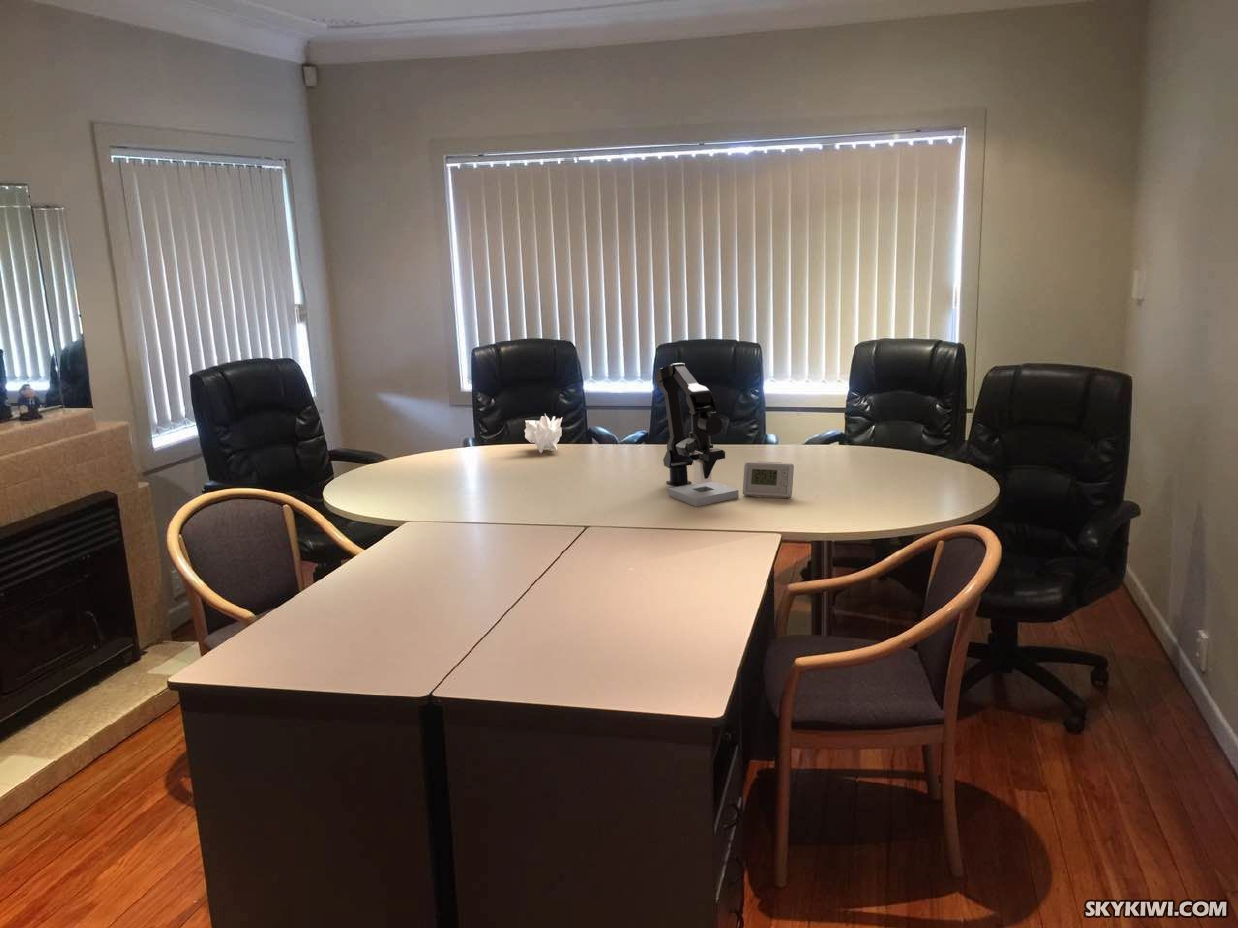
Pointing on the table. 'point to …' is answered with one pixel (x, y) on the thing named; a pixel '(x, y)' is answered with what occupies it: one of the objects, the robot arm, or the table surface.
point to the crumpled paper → (544, 433)
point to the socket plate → (703, 493)
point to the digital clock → (768, 479)
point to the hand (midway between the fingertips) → (702, 477)
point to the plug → (700, 472)
